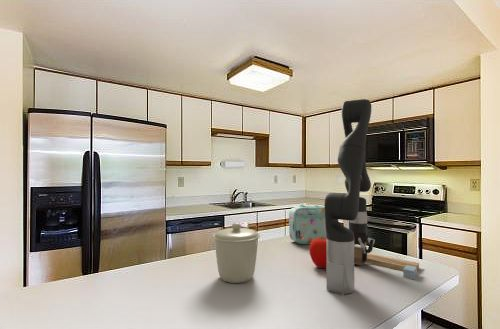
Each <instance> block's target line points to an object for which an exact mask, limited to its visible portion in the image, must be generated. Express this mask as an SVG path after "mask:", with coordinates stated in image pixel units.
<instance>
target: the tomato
mask: <svg viewBox="0 0 500 329" xmlns="http://www.w3.org/2000/svg"><path fill="white" fill-rule="evenodd" d="M326 246H327V243H326V237H325V238H323V237H320V238H319V237H318V238H315V239H314V240H313V241H312V242H311V244H309V255H310V258H311V261H312V262H313V264H314V265H315V266H316V267H317V268H321V269H326V263H327V249H326Z"/></svg>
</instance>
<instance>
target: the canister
mask: <svg viewBox="0 0 500 329" xmlns="http://www.w3.org/2000/svg"><path fill="white" fill-rule="evenodd" d="M260 236H261V234H260V233H259V232H257V231H256V230H253V229H252V228H249V229H247V228H241V225H240V224H239V222H234V223H232V224H231V227H228V228H224V229H220V230H218V231H216V232H215V233H213V235H212V238H213V239H214V246H215V254H216V255H215V257H216V263H217V264H216V265H217V270H218V275H219V277H220V279H221V280H222V281H224V282H227V283H230V284H231V283H232V284H242V283H246V282H249V280H251V279H252V278H253V277H254V274H255V270H256V264H257V255H258V254H257V253H258V244H259V239H260Z"/></svg>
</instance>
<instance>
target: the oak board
mask: <svg viewBox="0 0 500 329" xmlns="http://www.w3.org/2000/svg"><path fill="white" fill-rule="evenodd" d="M365 264H368V265H369V264H370V265H374V266H379V267H384V268H389V269H392V270H398V271H402V272H403V269H404V268H405V266H406V265H409V266H414V267H417V271H419V269H420V263H419V262H414V261H410V260H406V259H405V260H404V259H399V258H393V257H389V256H384V255H378V254H373V253H367V260H366V262H365Z"/></svg>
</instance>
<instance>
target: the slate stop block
mask: <svg viewBox="0 0 500 329" xmlns="http://www.w3.org/2000/svg"><path fill="white" fill-rule="evenodd" d="M402 272H403V274H402V277H403V278H407V279H410V280H415V278H416V277H417V275H418V270H417V267H414V266H409V265H406V266H405V268H404V269H403V271H402Z"/></svg>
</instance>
